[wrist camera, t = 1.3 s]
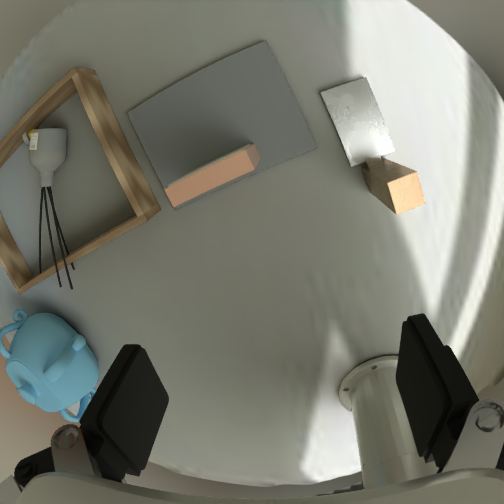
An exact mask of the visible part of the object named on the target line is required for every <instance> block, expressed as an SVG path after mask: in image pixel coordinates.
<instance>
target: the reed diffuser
mask: <svg viewBox="0 0 504 504" xmlns="http://www.w3.org/2000/svg"><path fill="white" fill-rule="evenodd" d="M22 137H23V140H24V142H25V143H26V144H27V145H30V149H29V151H30V162H31V164H32V165H33V166H34V167H35V168H36V169H37V170H38V171H39V172H40V187H42V190H41V203H40V224H39V267H40V274H41V220H42V202H43V191H44V201H45V209H46V216H47V223H48V230H49V236H50V242H51V247H52V253H53V258H54V263H55V267H56V272H57V277H58V281H59V285H60V287H62V285H61V281H60V277H59V272H58V268H57V263H56V258H55V253H54V248H53V242H52V236H51V230H50V223H49V216H48V209H47V201H46V191H45V187H47V190H48V194H49V198H50V201H51V205H52V209H53V215H54V220H55V225H56V230H57V235H58V240H59V244H60V248H61V253H62V257H63V261H64V265H65V269H66V272H67V276H68V280H69V283H70V287H71V290H72V289H73V287H72V283H71V279H70V276H69V272H68V268H67V265H66V261H65V257H64V252H63V248H62V244H61V239H60V235H59V231H60V234H61V237H62V240H63V243H64V246H65V249H66V252H67V255H69V252H68V249H67V246H66V243H65V240H64V237H63V234H62V231H61V228H60V225H59V222H58V218H57V215H56V212H55V208H54V203H53V197H52V190H51V186H54V171H55V170H56V169H57V168H58V167H59V166H60V165H61V164H62V163H63V162H64V161H65V157H66V143H67V129H62V128H45V129H37V128H34V129H32V130H31V131H29V132H25V133H24V134H23V135H22ZM58 228H59V230H58ZM71 265H72V268H73V270H75V268H74V266H73V263H71Z"/></svg>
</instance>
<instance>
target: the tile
mask: <svg viewBox="0 0 504 504" xmlns="http://www.w3.org/2000/svg"><path fill="white" fill-rule="evenodd" d="M260 159H261V157H260V155H259V153H258V151H257V149H256V146H255V144H248V145H245V146H243V147H241V148H239V149H237V150H234V151H232V152H230V153H228V154H226V155H224V156H222V157H219V158H217V159H215V160H213V161H211V162H209V163H207V164H205V165H203V166H201V167H199V168H197V169H195V170H193V171H191V172H189V173H188V174H186V175H184V176H183V177H181V178H179V179H178V180H176V181H174V182H173V183H171V184H169V185H168V187H167V188H166V189H164V190H165V192H166V194H167V196H168V198H169V200H170V202H171V204H172V206H173V207H175V206H177V205H179V204H181V203H183V202H185V201H188V200H190V199H192V198H194V197H196V196H198V195H200V194H202V193H204V192H206V191H208V190H211V189H213V188H215V187H217V186H219V185H221V184H224V183H226V182H228V181H230V180H232V179H235V178H237V177H239V176H241V175H244V174H246V173H248V172H250V171H253V170H255V168H256V166H257V164H258V162H259V160H260Z"/></svg>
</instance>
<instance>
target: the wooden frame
mask: <svg viewBox="0 0 504 504" xmlns="http://www.w3.org/2000/svg"><path fill="white" fill-rule="evenodd" d="M77 91H78V94H79V96H80V99H81V101H82V103H83V106H84V108H85V110H86V113H87V115H88V117H89V119H90V122H91V124H92V126H93V128H94V131H95V133H96V135H97V137H98V139H99V141H100V144H101V146H102V148H103V150H104V152H105V154H106V156H107V158H108V160H109V162H110V164H111V166H112V168H113V170H114V173H115V175H116V177H117V179H118V180H119V182H120V184H121V186H122V188H123V190H124V192H125V194H126V196H127V198H128V200H129V202H130V204H131V206H132V208H133V209H134V211H135V213H136V215H135V216H133V217H132V218H130V219H128V220H126V221H124V222H123V223H121V224H119V225H117V226H115V227H114V228H112V229H110V230H108V231H107V232H105V233H103V234H101V235H100V236H98V237H96V238H95V239H93V240H91V241H90V242H88V243H86V244H85V245H83V246H81V247H80V248H78V249H76V250H75V251H73V252H71V253H70V254H69V255H67V256H65V261H66V265H69V264H70V263H72V262H74V261H75V260H77V259H79V258H81V257H82V256H84V255H86V254H88V253H89V252H91V251H93V250H95V249H96V248H98V247H100V246H102V245H103V244H105V243H107V242H109V241H111V240H113V239H114V238H116V237H118V236H120V235H122V234H124V233H125V232H127V231H129V230H131V229H133V228H135V227H137V226H139V225H141V224H142V223H144V222H146V221H148V220H149V219H150V218H152V217H153V216H154V215H155V214H157V213H158V212H159V211H160V210H161V208H160V206H159V204H158V202H157V200H156V198H155V196H154V194H153V192H152V190H151V189H150V187H149V185H148V183H147V181H146V179H145V177H144V175H143V173H142V171H141V169H140V167H139V165H138V163H137V161H136V159H135V157H134V155H133V153H132V151H131V149H130V147H129V145H128V142H127V140H126V138H125V136H124V134H123V132H122V130H121V128H120V126H119V124H118V121H117V119H116V117H115V115H114V113H113V111H112V108H111V106H110V104H109V102H108V100H107V97H106V95H105V93H104V91H103V88H102V86H101V84H100V82H99V79H98V77H97V75H96V72H95V70H90V69H84V68H78V67H74V68H73V69H72V70H71V71H69V72H68V73H67V74H66V75H65V76H64V77H63V78H62V79H60V80H59V81H58V82H57V83H56V84H55V85H54V86H53V87H52V88H51V89H50V90H49V91H48V92H46V93H45V94H44V95H43V96H42V97H41V98H40V99H39V100H38V101H37V102H36V103H35V104H34V105H33V106H32V107H31V109H30V110H29V111H28V112H27V113H26V114H25V115H24V116H23V117H22V118H21V119H20V120H19V121H18V123H17V124H16V125H15V126H14V127H13V128H12V129H11V131H10V132H9V133H8V134H7V135H6V136H5V138H4V139H3V140H2V141H1V143H0V168H1V167H2V165H3V164H4V163H5V162H6V161H7V160H8V158H9V157H10V156H11V155H12V154H13V153H14V152H15V150H16V149H17V148H18V147H19V146H20V145H21V144H22V143H23V142H24V140H23V137H22V135H23V134H24V133H25V132H29V131H31V130H32V129H34V128H37V127H38V126H39V125H40V124H41V123H42V122H43V121H44V120H46V119H47V118H48V117H49V116H50V115H51V114H52V113H53V112H54V111H55V110H56V109H57V108H58V107H60V106H61V105H62V104H63V103H64V102H65V101H66V100H67V99H69V98H70V97H71V96H72V95H73V94H74V93H76V92H77ZM0 262H1V264H2V266H3V267H4V269H5V271H6V273H7V275H8V276H9V278H10V280H11V281H12V283H13V285H14V287H15V288H16V290H17V292H18V293H19V295H20V294H22V293H23V292H25V291H26V290H28V289H29V288H31V287H33V286H34V285H36V284H37V283H39V282H41V281H42V280H44V279H45V278H47V277H49V276H50V275H52V274H54V273H55V272H56V267H55V263H54V264H52V265H51V266H49V267H48V268H46V269H45V270H43V271H42V272H41V274H40V273H39V274H37V275H36V276H34V275H33V274H32V272H31V270H30V269H29V267H28V265H27V263H26V262H25V260H24V258H23V256H22V254H21V253H20V251H19V249H18V247H17V245H16V243H15V241H14V239H13V237H12V235H11V233H10V231H9V229H8V227H7V225H6V223H5V221H4V219H3V217H2V215H1V212H0ZM56 263H57V268H58V271H59V270H60V269H62V268H64V267H65V265H64V261H63V258H62V259H60V260H59V261H57V262H56Z"/></svg>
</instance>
